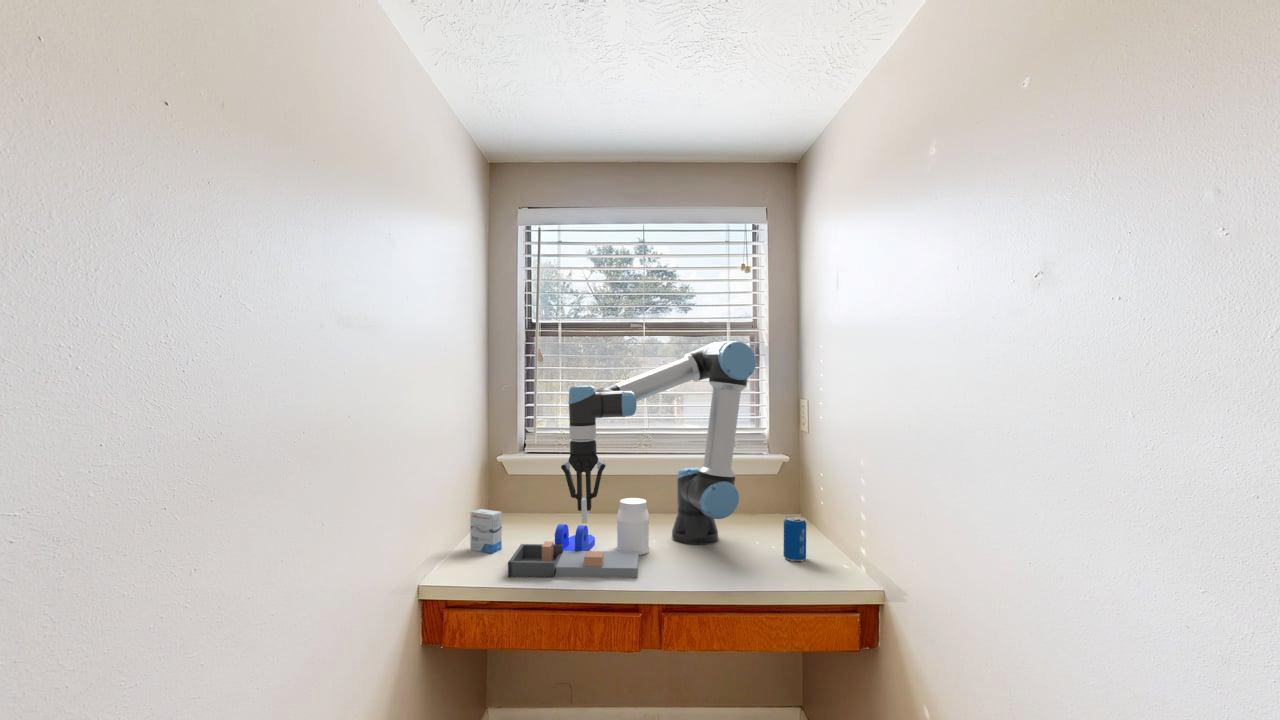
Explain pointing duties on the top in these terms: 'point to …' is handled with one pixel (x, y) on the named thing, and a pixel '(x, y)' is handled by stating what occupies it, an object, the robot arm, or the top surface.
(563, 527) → the bracket
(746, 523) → the top surface
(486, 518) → the ink box
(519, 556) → the box
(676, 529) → the robot arm
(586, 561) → the tile
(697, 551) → the top surface
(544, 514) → the top surface
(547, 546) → the tile
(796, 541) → the beverage can
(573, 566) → the board
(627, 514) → the jar
